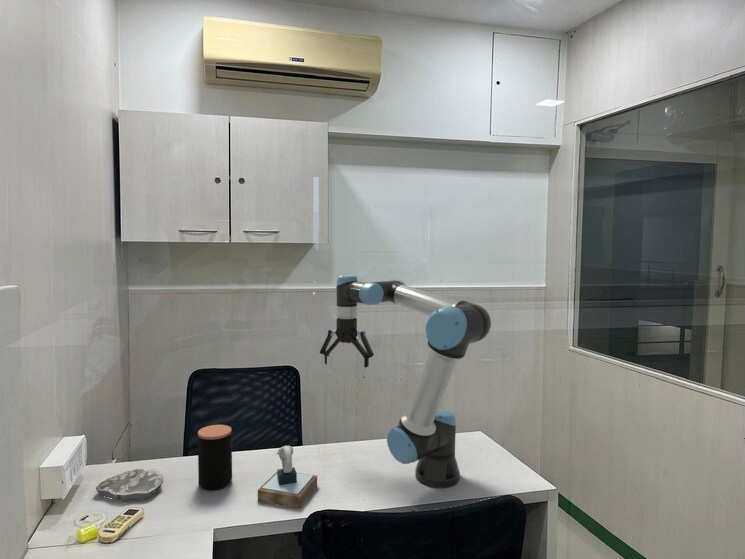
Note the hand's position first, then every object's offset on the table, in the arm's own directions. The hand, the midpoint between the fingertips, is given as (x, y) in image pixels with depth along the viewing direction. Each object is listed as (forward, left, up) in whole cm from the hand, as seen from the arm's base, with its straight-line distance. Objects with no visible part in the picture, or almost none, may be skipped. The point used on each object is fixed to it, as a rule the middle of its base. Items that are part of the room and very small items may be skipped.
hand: (346, 374), depth 177 cm
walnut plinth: (+9, +30, -32) cm, 45 cm away
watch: (+10, +30, -28) cm, 42 cm away
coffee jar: (+35, +31, -32) cm, 57 cm away
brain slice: (+58, +42, -32) cm, 79 cm away
